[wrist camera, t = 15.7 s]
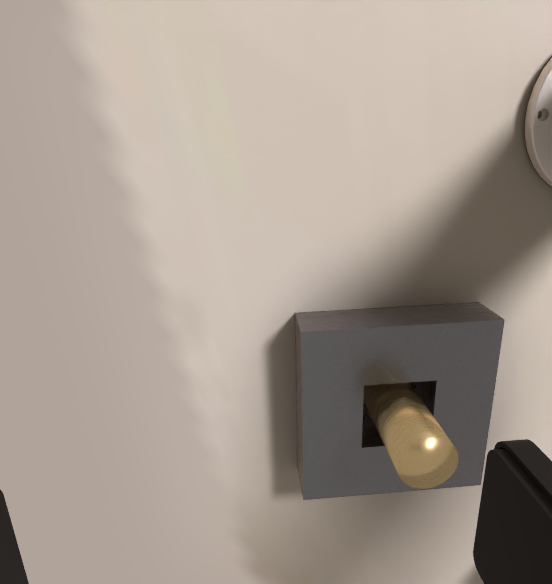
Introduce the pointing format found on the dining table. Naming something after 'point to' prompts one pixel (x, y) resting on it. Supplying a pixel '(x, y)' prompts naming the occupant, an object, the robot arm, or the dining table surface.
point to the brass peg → (411, 435)
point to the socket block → (387, 370)
